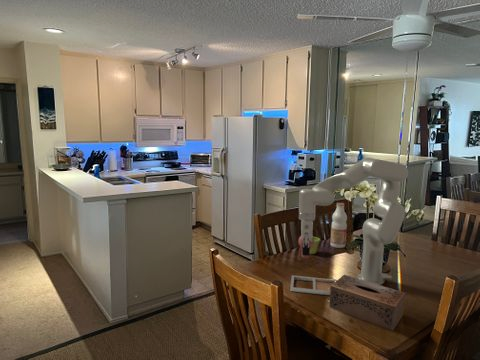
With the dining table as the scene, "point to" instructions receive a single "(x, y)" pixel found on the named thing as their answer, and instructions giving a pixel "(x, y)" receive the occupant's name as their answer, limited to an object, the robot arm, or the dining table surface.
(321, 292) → the rail frame
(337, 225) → the fruit juice
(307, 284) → the dining table surface
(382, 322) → the tissue box cover
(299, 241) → the light bulb
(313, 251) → the plant pot
